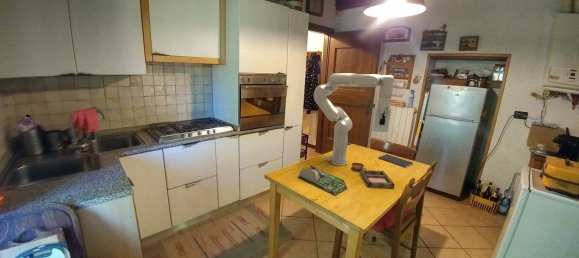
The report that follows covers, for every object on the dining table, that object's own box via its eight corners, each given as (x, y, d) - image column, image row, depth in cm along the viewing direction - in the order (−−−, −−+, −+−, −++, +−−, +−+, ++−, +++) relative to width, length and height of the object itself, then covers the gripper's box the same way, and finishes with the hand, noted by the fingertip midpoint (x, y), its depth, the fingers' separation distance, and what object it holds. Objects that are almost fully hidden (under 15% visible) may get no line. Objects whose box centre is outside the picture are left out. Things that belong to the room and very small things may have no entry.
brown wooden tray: (367, 188, 139) (368, 182, 138) (359, 174, 156) (360, 169, 155) (393, 189, 139) (394, 184, 138) (382, 175, 156) (383, 170, 155)
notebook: (378, 159, 187) (405, 168, 171) (378, 157, 186) (405, 166, 170) (386, 155, 194) (413, 164, 179) (386, 154, 194) (413, 162, 178)
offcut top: (371, 185, 141) (371, 183, 140) (367, 179, 148) (368, 177, 147) (388, 186, 141) (388, 184, 140) (383, 180, 147) (384, 178, 147)
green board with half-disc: (292, 164, 150) (313, 157, 163) (292, 175, 152) (312, 167, 165) (336, 184, 127) (355, 173, 141) (334, 196, 129) (354, 185, 143)
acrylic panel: (373, 131, 154) (376, 108, 150) (372, 130, 157) (375, 107, 153) (387, 132, 154) (391, 109, 150) (385, 130, 157) (389, 108, 153)
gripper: (374, 93, 157) (371, 121, 162) (383, 96, 142) (379, 127, 146) (386, 94, 157) (382, 121, 162) (396, 97, 142) (391, 127, 146)
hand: (380, 123), depth 154 cm, fingers closed on acrylic panel, 3 cm apart
